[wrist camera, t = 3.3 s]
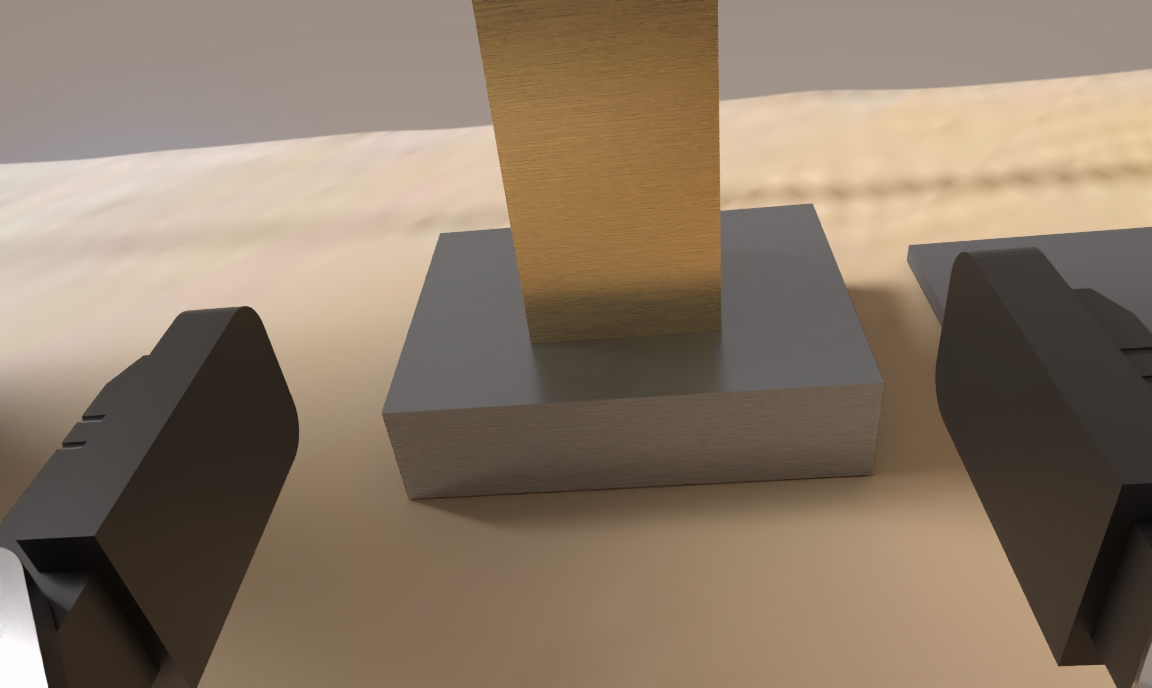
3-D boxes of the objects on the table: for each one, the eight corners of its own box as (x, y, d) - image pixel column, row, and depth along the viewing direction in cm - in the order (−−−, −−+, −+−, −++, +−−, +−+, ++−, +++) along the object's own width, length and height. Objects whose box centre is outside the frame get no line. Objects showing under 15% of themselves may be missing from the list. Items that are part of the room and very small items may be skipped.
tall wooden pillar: (530, 343, 23) (440, -182, 16) (540, 264, 26) (469, -202, 19) (721, 330, 23) (715, -217, 16) (707, 252, 26) (697, -230, 19)
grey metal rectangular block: (408, 499, 23) (381, 413, 21) (457, 308, 30) (440, 233, 29) (872, 475, 22) (884, 382, 20) (807, 283, 29) (812, 203, 27)
